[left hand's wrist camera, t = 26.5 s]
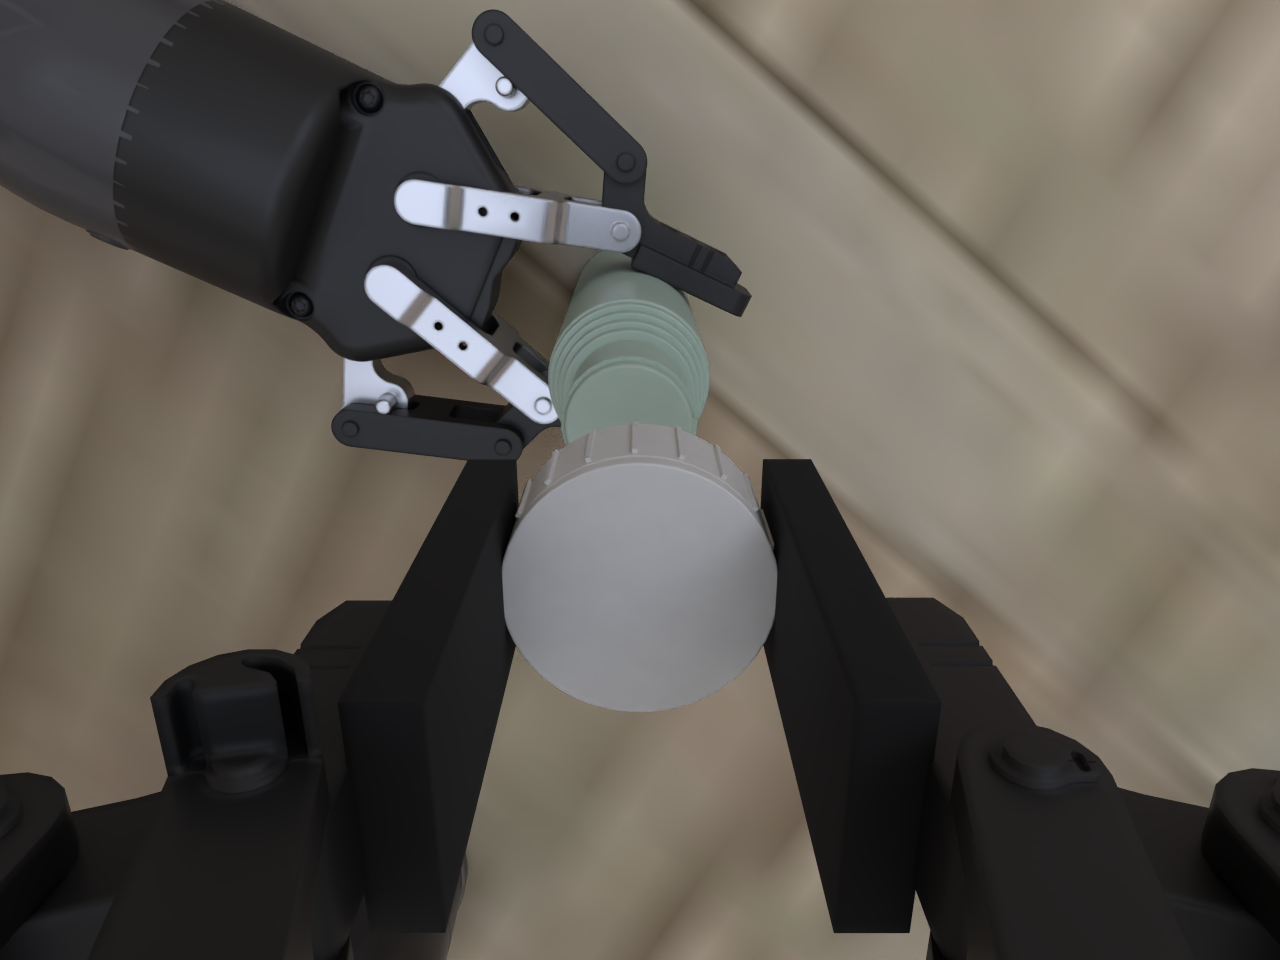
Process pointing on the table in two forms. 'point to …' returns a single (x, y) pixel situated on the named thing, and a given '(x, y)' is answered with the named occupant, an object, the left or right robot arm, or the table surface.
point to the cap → (639, 569)
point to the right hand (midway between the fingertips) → (706, 371)
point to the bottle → (627, 353)
